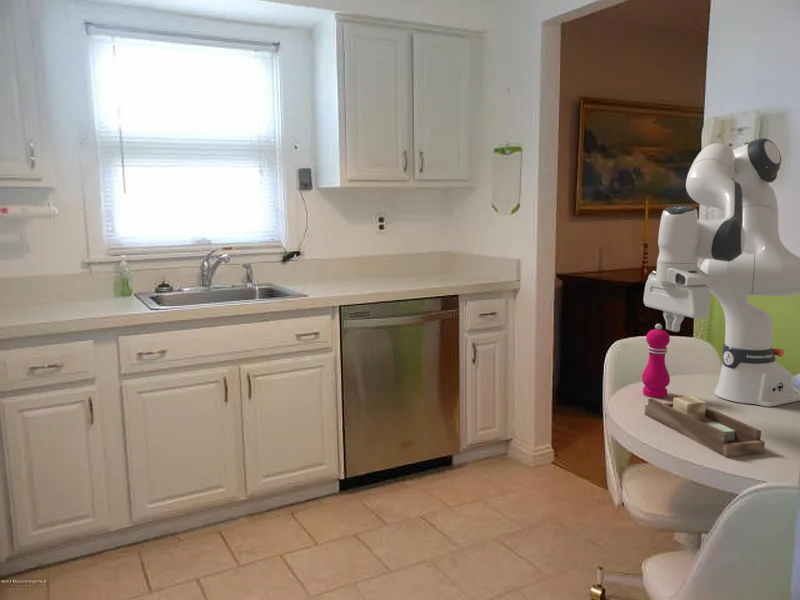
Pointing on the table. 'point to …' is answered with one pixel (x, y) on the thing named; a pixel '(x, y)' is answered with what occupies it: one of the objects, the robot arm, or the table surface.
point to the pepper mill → (656, 364)
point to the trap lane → (709, 429)
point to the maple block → (690, 406)
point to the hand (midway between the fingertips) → (672, 330)
